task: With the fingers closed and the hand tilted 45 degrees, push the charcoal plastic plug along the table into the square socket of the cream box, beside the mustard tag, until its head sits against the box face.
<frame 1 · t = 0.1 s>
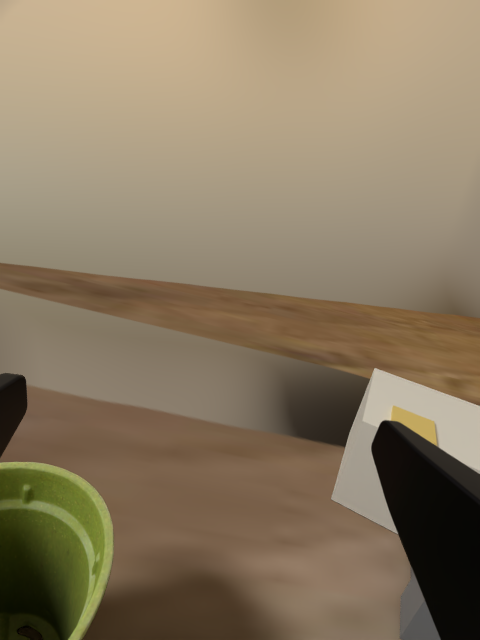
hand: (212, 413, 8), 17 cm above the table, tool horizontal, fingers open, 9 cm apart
port box: (433, 504, 29), on the table
plug: (468, 548, 20), point 4 cm above the table, slide at 0.0 cm
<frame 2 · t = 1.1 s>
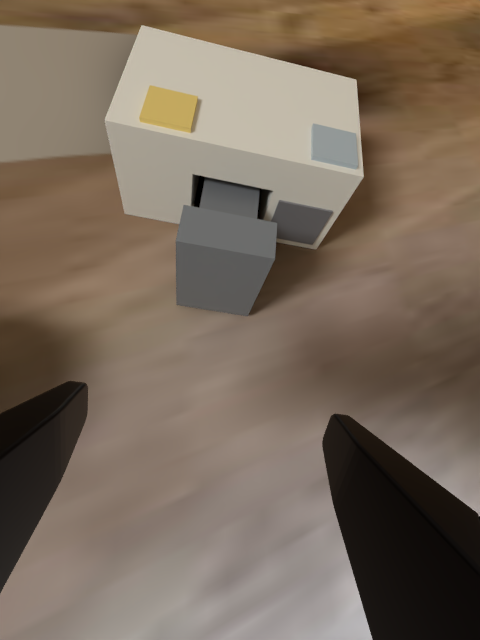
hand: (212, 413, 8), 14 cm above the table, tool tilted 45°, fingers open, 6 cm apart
port box: (230, 187, 29), on the table
plug: (226, 225, 22), point 4 cm above the table, slide at 0.0 cm
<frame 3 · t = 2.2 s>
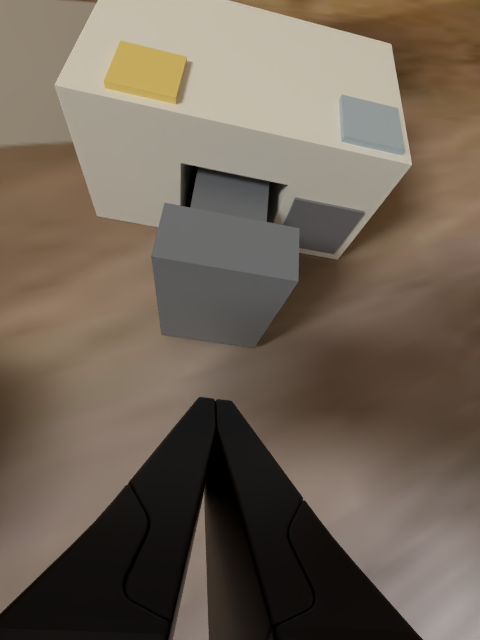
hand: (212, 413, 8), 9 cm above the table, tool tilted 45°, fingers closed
port box: (230, 182, 24), on the table
plug: (226, 230, 17), point 4 cm above the table, slide at 0.0 cm
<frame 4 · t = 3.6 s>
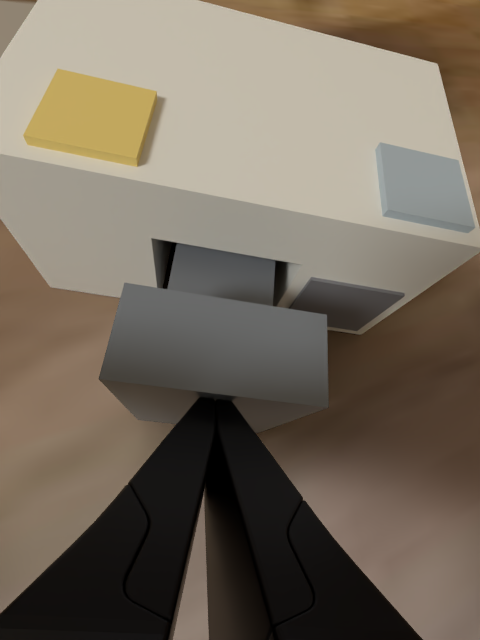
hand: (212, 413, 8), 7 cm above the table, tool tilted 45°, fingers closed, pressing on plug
port box: (224, 233, 19), on the table
plug: (221, 290, 13), point 4 cm above the table, slide at 1.7 cm, touching gripper
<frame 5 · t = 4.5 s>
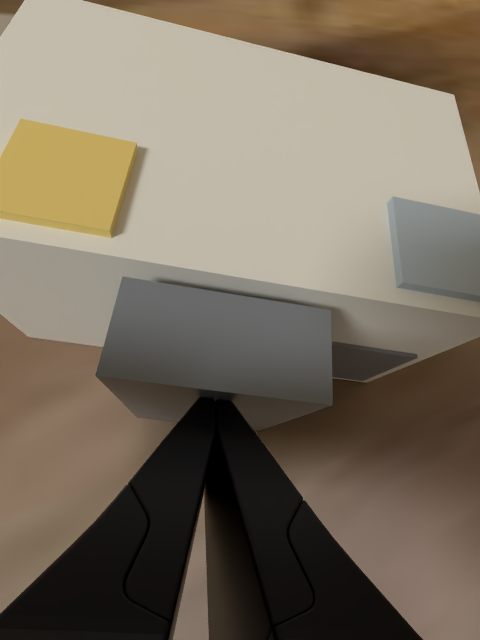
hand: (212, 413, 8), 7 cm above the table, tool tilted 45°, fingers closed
port box: (220, 270, 18), on the table
plug: (222, 285, 13), point 4 cm above the table, slide at 4.5 cm
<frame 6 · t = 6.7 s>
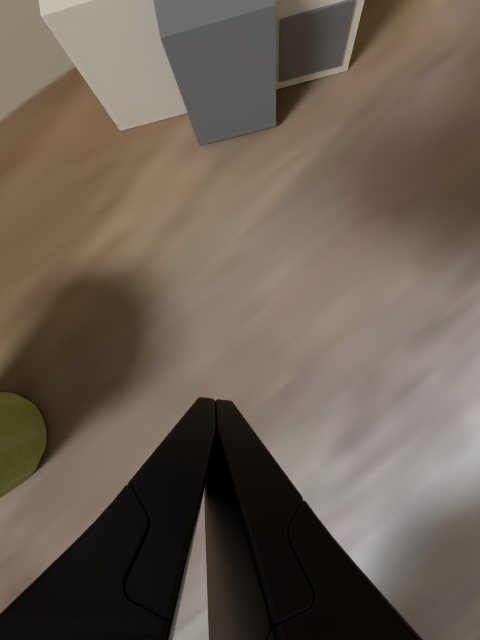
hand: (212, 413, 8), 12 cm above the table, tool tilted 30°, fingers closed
plant pot: (8, 437, 22), on the table
port box: (217, 38, 23), on the table
plug: (214, 17, 19), point 4 cm above the table, slide at 4.5 cm
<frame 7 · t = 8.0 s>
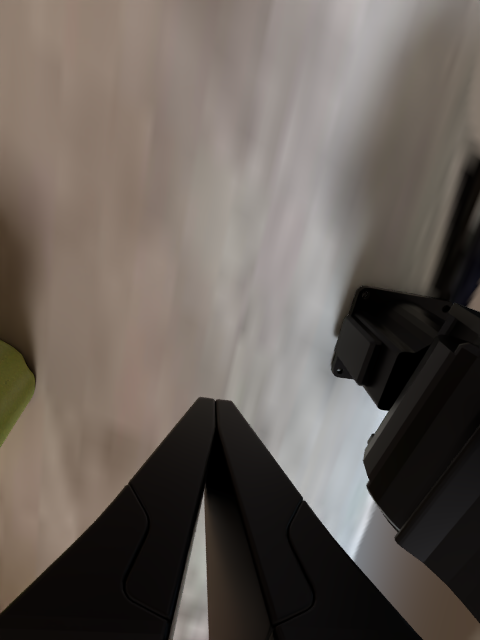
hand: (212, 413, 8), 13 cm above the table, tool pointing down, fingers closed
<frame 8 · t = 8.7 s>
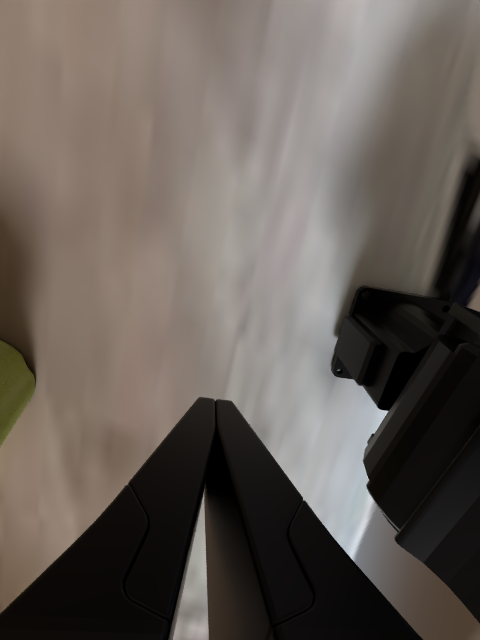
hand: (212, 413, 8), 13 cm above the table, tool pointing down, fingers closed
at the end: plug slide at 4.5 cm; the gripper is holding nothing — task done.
